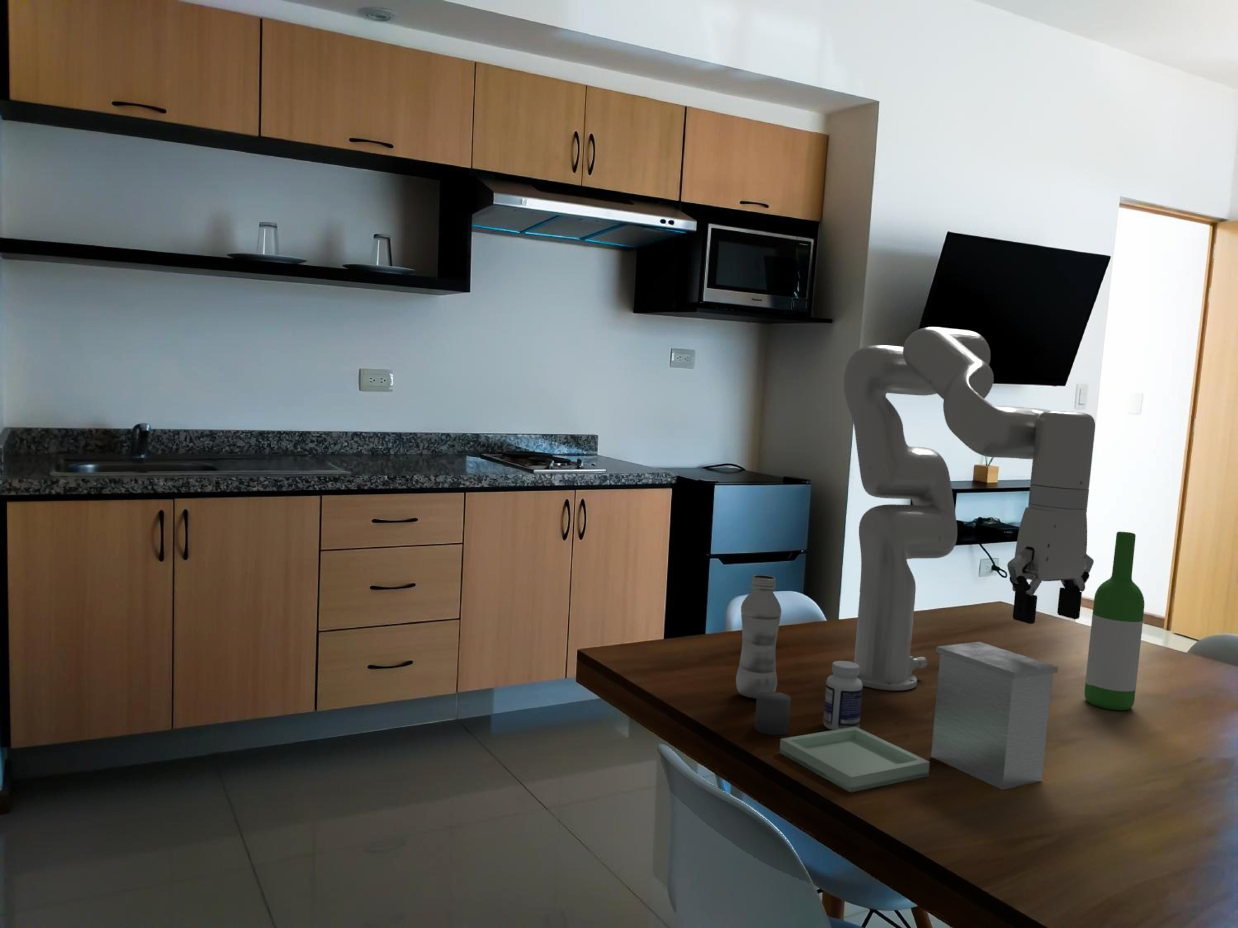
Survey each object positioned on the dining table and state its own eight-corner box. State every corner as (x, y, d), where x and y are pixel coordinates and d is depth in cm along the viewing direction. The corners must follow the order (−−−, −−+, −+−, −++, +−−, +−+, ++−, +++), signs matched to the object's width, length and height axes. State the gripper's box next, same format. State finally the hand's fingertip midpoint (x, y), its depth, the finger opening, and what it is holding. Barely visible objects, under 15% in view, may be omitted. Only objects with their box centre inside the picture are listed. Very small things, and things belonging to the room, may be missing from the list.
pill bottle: (864, 726, 147) (869, 663, 146) (852, 736, 142) (857, 671, 141) (830, 718, 150) (835, 656, 149) (817, 727, 145) (822, 664, 144)
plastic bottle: (775, 705, 154) (784, 582, 152) (732, 700, 155) (741, 578, 154) (776, 693, 160) (785, 575, 159) (736, 688, 161) (744, 571, 160)
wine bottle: (1114, 714, 161) (1133, 536, 158) (1073, 699, 167) (1090, 529, 165) (1143, 709, 164) (1162, 536, 162) (1102, 695, 171) (1119, 528, 169)
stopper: (774, 721, 146) (776, 689, 146) (795, 732, 142) (798, 699, 142) (747, 725, 144) (750, 693, 143) (768, 737, 140) (771, 703, 139)
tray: (854, 739, 141) (855, 726, 140) (928, 776, 128) (929, 761, 128) (779, 752, 134) (780, 738, 133) (850, 792, 121) (851, 776, 121)
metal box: (969, 747, 140) (979, 641, 139) (1046, 781, 129) (1058, 666, 128) (926, 755, 136) (936, 646, 135) (1002, 791, 125) (1014, 672, 124)
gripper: (1072, 495, 142) (1061, 609, 143) (994, 496, 134) (982, 616, 135) (1120, 502, 136) (1108, 621, 137) (1041, 503, 127) (1029, 630, 128)
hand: (1046, 619), depth 136 cm, fingers open, 9 cm apart
